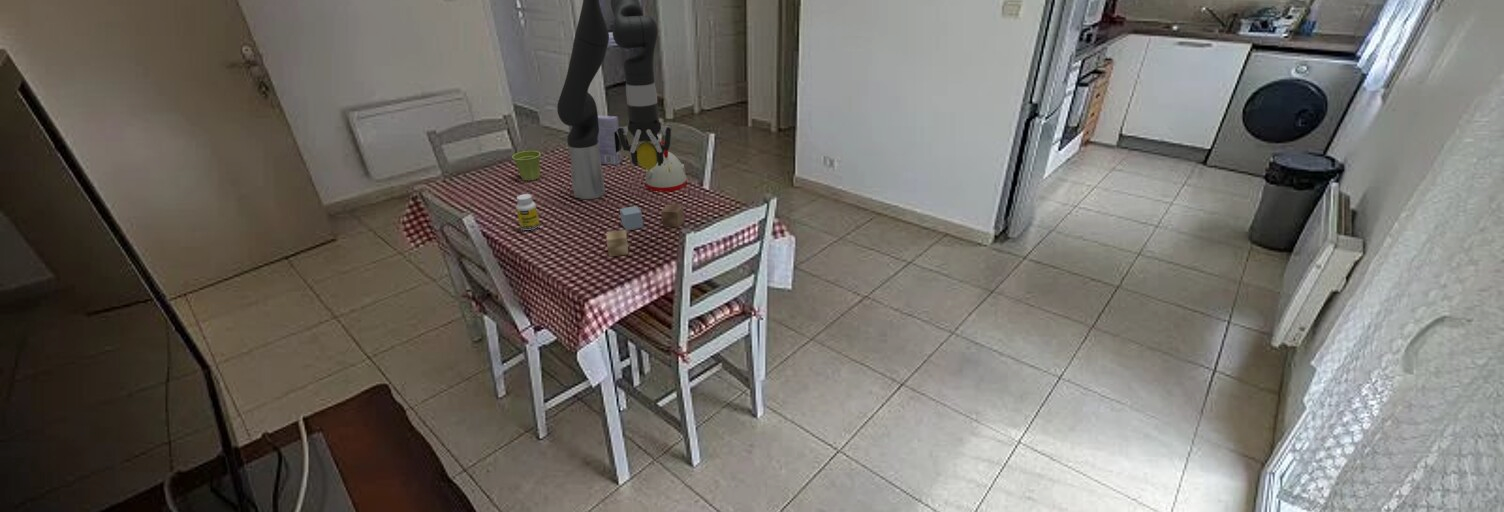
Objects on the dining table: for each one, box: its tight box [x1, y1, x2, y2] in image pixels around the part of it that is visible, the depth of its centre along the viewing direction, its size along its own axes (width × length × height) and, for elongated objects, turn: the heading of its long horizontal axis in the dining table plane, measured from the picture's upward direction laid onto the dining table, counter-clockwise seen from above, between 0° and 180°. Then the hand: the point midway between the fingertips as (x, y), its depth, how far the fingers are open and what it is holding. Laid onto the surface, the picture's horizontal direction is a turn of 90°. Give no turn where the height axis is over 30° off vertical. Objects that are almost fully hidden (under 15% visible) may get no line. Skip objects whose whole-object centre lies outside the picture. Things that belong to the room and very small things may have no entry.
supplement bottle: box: [515, 193, 541, 231], centre depth 173 cm, size 5×5×10 cm
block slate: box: [619, 205, 644, 232], centre depth 174 cm, size 5×5×5 cm
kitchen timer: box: [645, 140, 688, 193], centre depth 200 cm, size 14×14×15 cm
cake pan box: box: [568, 115, 623, 166], centre depth 221 cm, size 19×5×18 cm, turn 79°
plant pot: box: [511, 150, 541, 181], centre depth 209 cm, size 9×9×9 cm
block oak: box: [606, 229, 629, 257], centre depth 160 cm, size 5×5×5 cm
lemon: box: [636, 141, 658, 171], centre depth 156 cm, size 6×6×8 cm
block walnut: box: [660, 203, 685, 229], centre depth 174 cm, size 5×5×5 cm
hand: (648, 164), depth 158 cm, fingers closed on lemon, 5 cm apart
